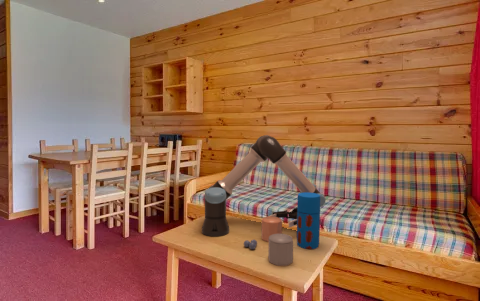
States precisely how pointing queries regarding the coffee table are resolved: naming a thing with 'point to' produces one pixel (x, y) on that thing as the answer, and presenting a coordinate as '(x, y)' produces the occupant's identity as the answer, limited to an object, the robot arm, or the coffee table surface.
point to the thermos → (308, 220)
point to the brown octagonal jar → (280, 249)
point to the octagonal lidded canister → (271, 227)
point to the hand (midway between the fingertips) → (278, 221)
